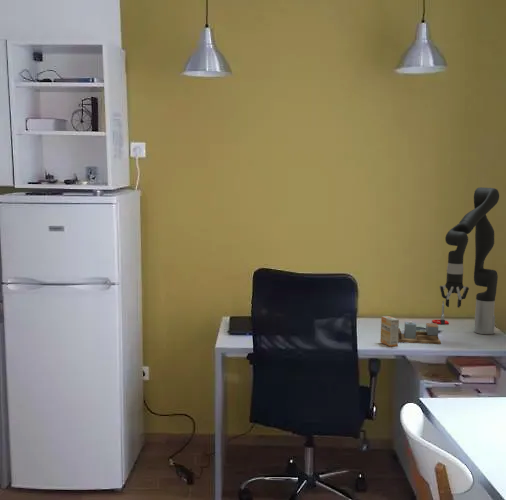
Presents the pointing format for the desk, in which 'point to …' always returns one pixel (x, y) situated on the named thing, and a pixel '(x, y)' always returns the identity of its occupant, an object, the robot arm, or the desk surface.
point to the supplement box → (389, 331)
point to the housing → (410, 330)
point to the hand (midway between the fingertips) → (453, 306)
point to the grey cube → (431, 329)
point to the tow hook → (441, 317)
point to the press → (419, 338)
